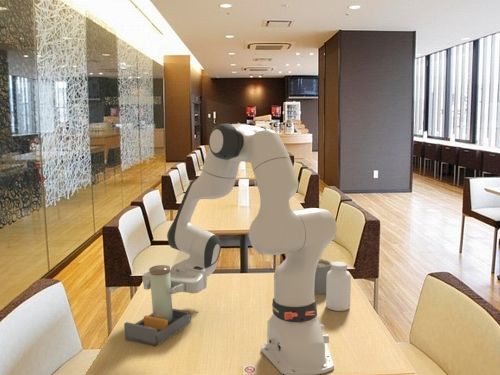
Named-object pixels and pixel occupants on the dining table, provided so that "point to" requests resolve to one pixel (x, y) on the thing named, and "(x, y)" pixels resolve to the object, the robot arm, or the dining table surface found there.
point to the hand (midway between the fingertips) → (158, 289)
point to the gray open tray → (153, 335)
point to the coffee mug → (321, 276)
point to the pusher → (155, 322)
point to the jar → (161, 292)
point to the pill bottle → (338, 287)
